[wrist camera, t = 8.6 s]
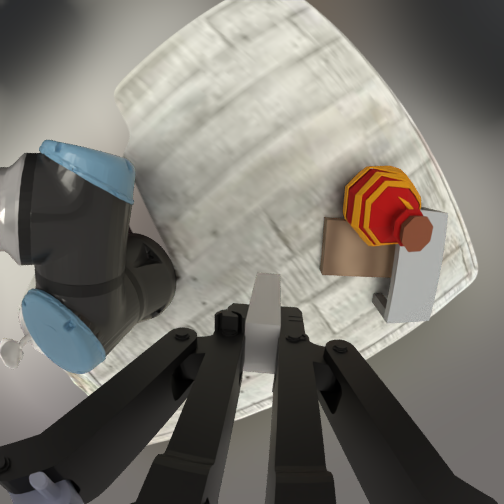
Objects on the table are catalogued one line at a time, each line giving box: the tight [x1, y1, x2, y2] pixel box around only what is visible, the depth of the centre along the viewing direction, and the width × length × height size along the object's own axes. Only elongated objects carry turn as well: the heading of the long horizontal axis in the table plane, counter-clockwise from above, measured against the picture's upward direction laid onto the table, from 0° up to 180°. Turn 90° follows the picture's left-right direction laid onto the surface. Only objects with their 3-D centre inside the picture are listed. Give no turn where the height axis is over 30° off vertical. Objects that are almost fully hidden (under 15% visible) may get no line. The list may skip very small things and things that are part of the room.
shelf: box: [372, 207, 448, 323], centre depth 35 cm, size 8×16×8 cm, turn 0°
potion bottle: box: [343, 166, 433, 252], centre depth 30 cm, size 10×10×15 cm
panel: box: [320, 217, 396, 278], centre depth 38 cm, size 14×8×3 cm, turn 88°
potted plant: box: [0, 307, 45, 369], centre depth 38 cm, size 13×12×25 cm
